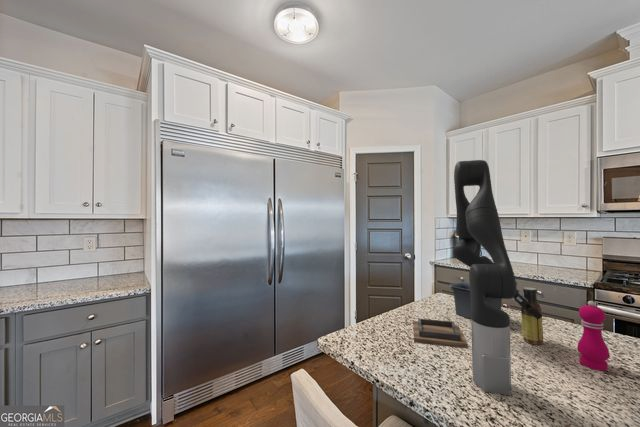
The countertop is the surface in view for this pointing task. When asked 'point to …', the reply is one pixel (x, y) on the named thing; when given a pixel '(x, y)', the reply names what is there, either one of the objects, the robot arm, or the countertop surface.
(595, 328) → the pepper mill
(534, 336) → the sauce bottle
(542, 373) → the countertop surface
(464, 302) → the storage bin
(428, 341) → the socket board
